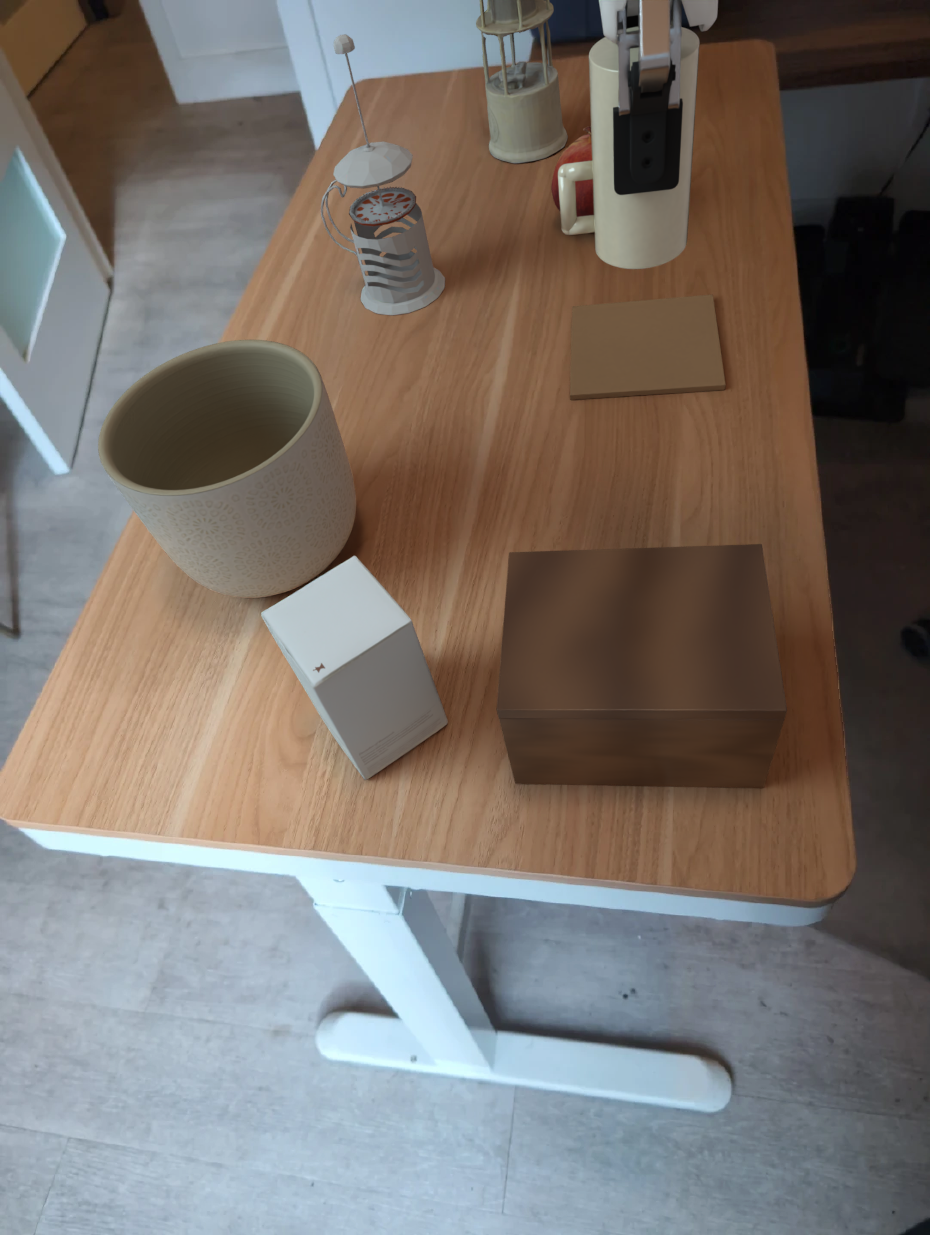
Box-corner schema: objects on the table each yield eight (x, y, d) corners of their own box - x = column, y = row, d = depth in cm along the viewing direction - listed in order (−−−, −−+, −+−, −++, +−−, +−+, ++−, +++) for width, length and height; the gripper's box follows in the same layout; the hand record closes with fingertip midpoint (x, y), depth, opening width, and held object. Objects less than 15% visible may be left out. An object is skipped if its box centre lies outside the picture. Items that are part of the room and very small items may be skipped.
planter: (332, 639, 66) (266, 506, 54) (151, 611, 71) (52, 484, 59) (399, 485, 75) (355, 342, 63) (234, 470, 80) (164, 334, 68)
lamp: (477, 163, 108) (435, -138, 85) (511, 115, 115) (480, -176, 91) (553, 164, 105) (531, -148, 81) (583, 115, 111) (571, -187, 88)
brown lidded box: (744, 634, 60) (761, 543, 52) (763, 788, 53) (787, 710, 45) (523, 637, 63) (508, 551, 55) (515, 783, 56) (496, 710, 48)
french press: (434, 314, 90) (379, 54, 70) (334, 316, 93) (254, 66, 73) (453, 262, 95) (407, 7, 75) (358, 266, 98) (289, 20, 78)
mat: (712, 299, 84) (713, 294, 83) (725, 390, 76) (725, 384, 75) (572, 311, 86) (572, 306, 86) (570, 400, 78) (569, 395, 78)
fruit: (547, 245, 94) (540, 155, 86) (562, 199, 100) (556, 109, 92) (643, 244, 91) (644, 150, 83) (653, 196, 97) (655, 103, 89)
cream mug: (683, 214, 49) (694, 17, 41) (691, 264, 46) (704, 62, 38) (562, 228, 50) (551, 39, 42) (562, 277, 47) (549, 84, 39)
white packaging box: (452, 724, 60) (416, 621, 50) (364, 784, 58) (308, 690, 48) (399, 658, 64) (356, 551, 54) (316, 712, 62) (255, 611, 52)
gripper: (801, -351, 24) (735, 241, 39) (732, -407, 34) (700, 80, 49) (541, -296, 25) (572, 258, 40) (548, -365, 35) (570, 98, 50)
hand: (642, 156), depth 44 cm, fingers closed on cream mug, 5 cm apart
